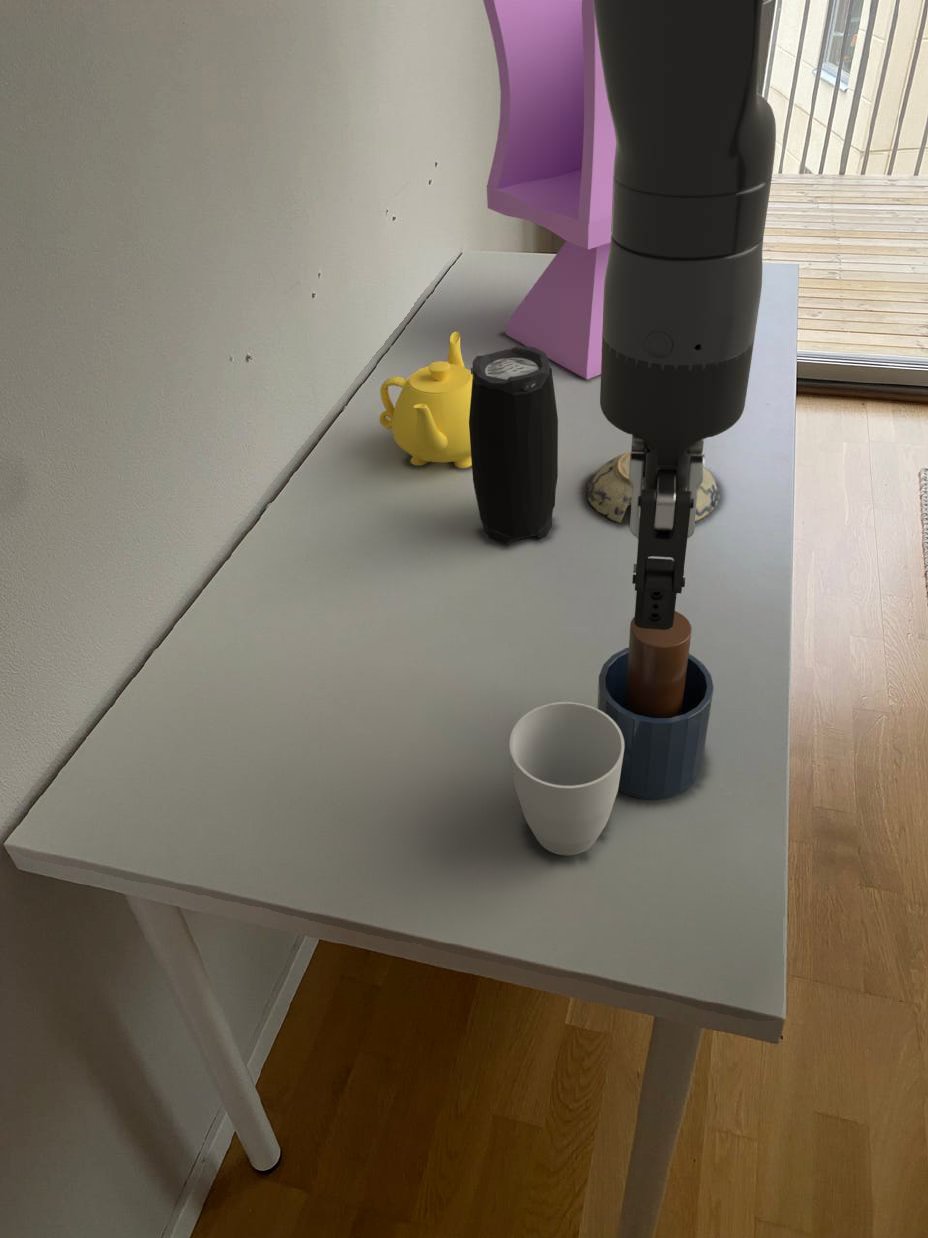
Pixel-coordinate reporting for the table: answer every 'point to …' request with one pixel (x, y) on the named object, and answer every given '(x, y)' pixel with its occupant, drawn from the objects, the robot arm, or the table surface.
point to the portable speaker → (514, 442)
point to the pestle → (657, 669)
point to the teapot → (433, 411)
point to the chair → (556, 168)
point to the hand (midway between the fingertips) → (655, 579)
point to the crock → (658, 732)
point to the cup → (566, 773)
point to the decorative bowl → (615, 489)
